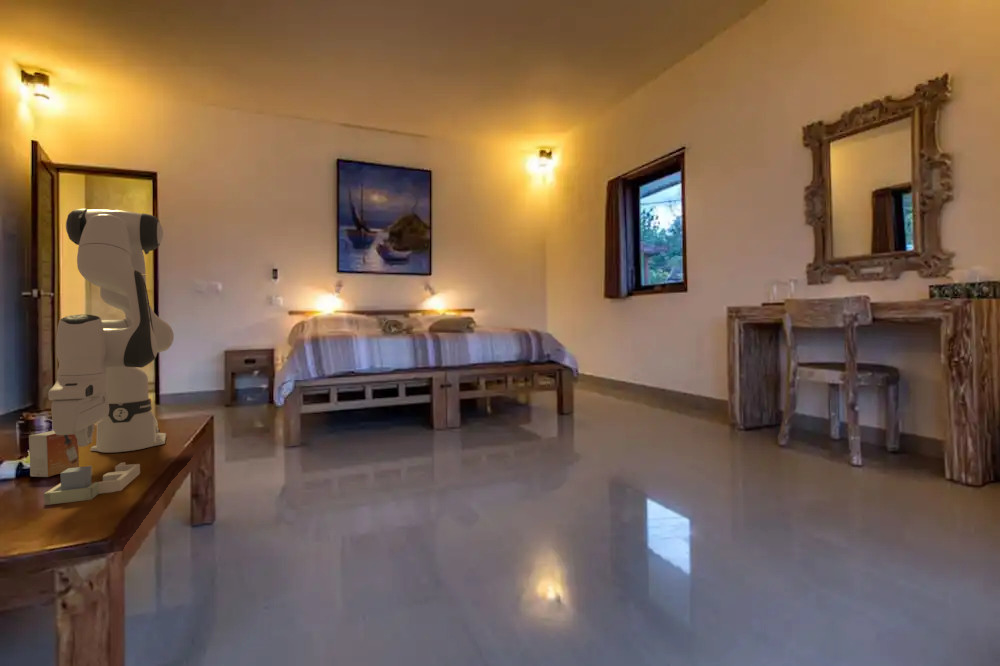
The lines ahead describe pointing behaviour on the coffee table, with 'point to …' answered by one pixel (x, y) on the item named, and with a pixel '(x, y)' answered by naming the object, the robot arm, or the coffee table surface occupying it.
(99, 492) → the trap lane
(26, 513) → the coffee table surface
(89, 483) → the slate block
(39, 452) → the small box
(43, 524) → the coffee table surface
